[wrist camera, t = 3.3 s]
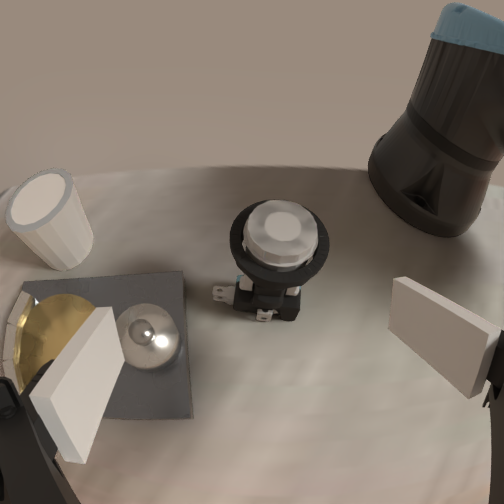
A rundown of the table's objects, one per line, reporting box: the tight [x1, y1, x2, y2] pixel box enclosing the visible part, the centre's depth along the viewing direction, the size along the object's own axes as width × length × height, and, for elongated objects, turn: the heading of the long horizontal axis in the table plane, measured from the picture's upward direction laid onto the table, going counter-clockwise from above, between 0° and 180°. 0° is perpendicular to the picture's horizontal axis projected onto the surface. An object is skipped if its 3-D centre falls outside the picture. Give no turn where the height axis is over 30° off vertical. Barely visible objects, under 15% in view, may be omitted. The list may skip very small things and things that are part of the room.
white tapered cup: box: [6, 168, 94, 271], centre depth 23 cm, size 7×7×7 cm
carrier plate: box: [2, 271, 194, 420], centre depth 19 cm, size 15×11×4 cm
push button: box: [212, 200, 329, 321], centre depth 20 cm, size 7×5×10 cm
